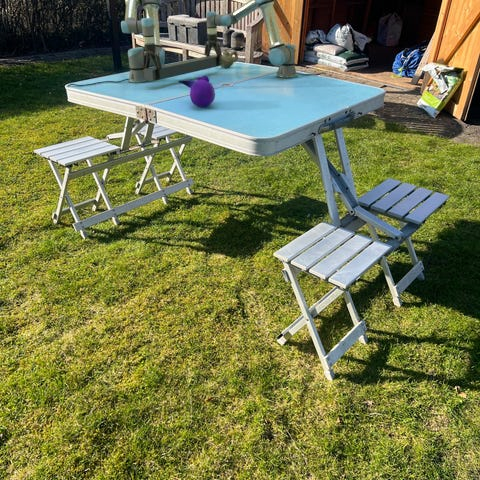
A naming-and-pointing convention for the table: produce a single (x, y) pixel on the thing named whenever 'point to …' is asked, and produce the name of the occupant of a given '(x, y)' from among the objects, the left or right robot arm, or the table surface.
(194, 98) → the toy
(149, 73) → the wide block
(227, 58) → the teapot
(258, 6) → the right robot arm
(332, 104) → the table surface
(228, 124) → the table surface
